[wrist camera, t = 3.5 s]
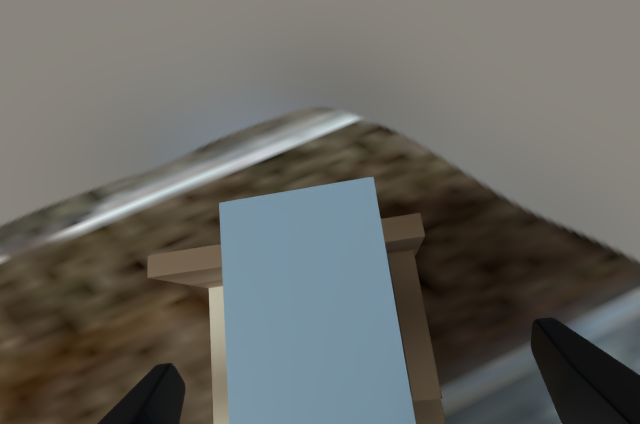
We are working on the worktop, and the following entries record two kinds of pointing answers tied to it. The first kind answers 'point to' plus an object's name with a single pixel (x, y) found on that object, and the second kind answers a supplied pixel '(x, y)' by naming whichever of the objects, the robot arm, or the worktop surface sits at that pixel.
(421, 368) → the stand
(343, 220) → the blue rectangular block
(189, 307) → the worktop surface
